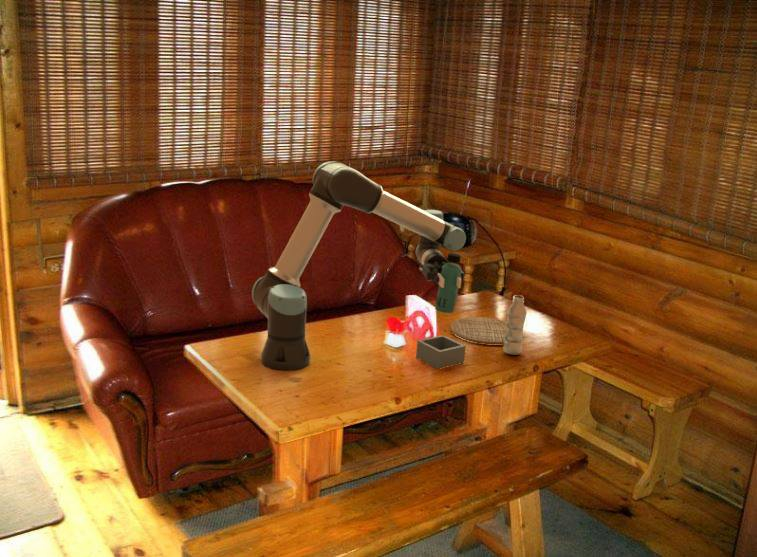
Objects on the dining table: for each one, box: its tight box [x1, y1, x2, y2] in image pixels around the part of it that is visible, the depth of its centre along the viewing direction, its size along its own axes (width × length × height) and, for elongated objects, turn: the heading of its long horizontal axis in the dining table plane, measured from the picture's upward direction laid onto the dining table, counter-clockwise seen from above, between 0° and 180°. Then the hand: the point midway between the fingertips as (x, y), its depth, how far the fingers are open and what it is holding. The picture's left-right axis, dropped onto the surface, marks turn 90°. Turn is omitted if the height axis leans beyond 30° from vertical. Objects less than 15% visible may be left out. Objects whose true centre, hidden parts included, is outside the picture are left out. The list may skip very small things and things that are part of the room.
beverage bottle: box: [434, 252, 463, 314], centre depth 257 cm, size 6×7×20 cm
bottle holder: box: [415, 334, 466, 370], centre depth 263 cm, size 11×11×6 cm
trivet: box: [450, 316, 507, 344], centre depth 292 cm, size 25×25×2 cm
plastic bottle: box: [502, 294, 527, 356], centre depth 271 cm, size 6×7×20 cm
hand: (451, 283), depth 251 cm, fingers closed on beverage bottle, 5 cm apart
